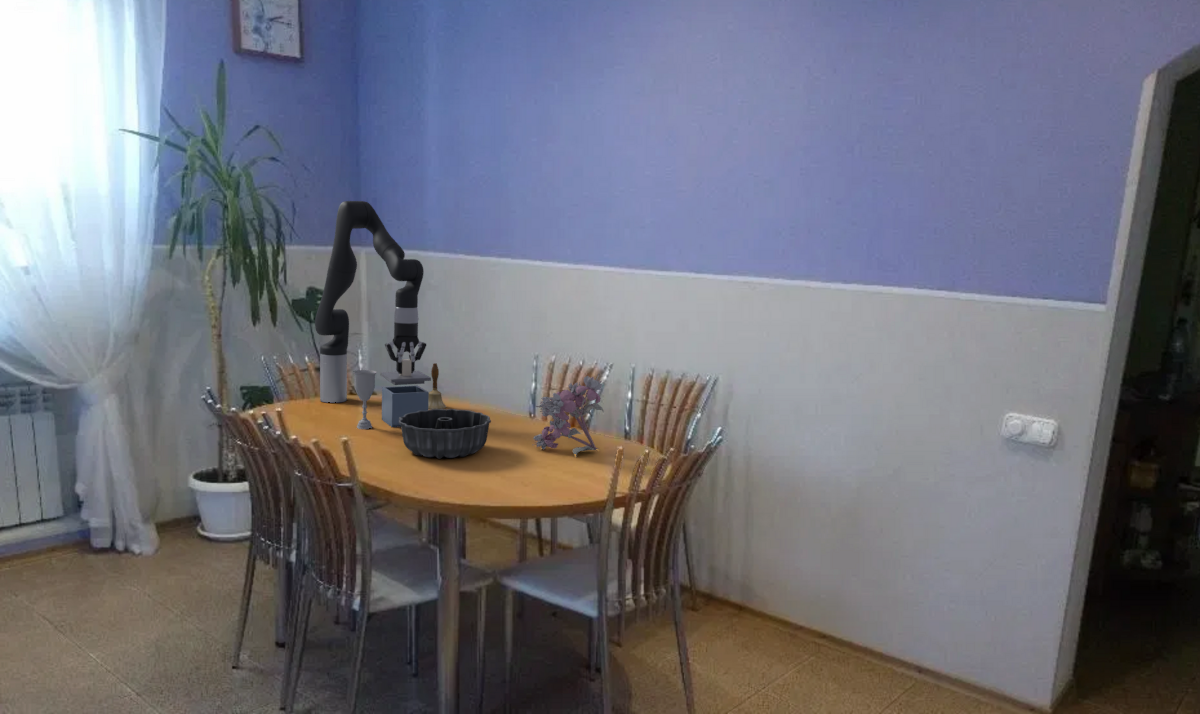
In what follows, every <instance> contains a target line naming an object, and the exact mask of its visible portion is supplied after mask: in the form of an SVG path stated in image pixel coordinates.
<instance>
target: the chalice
mask: <svg viewBox="0 0 1200 714" xmlns="http://www.w3.org/2000/svg"><path fill="white" fill-rule="evenodd" d="M352 372H353V374H354V389H355V392H356V394H357V396H358V397H359V400H360V401H362V406H361V407H362V412H361V413H362V418H361V419H360V420H358V423H357V425H356V427H357V428H358V429H359V430H370V429H369V428H371V429H372V427H373V425H372V423H371V420H369V419H368V418H367V413H368V411H367V408H368V406H367V401H369V400H370V399H371V397H372V395H373V393H374V391H375V387H376V374H377V370H371V369H370V370H369V369H368V370H367V369H361V370H359V369H358V370H353V371H352ZM357 428H356V429H357ZM358 429H357V430H358Z"/></svg>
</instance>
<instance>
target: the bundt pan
mask: <svg viewBox="0 0 1200 714" xmlns="http://www.w3.org/2000/svg"><path fill="white" fill-rule="evenodd" d="M490 417H491V416H489V415H487V414H484V413H483V412H476V411H474V410H469V409H454V408H448V409H446V408H444V409H428V410H427V411H418V412H413V413H408V414H405V415H404V416H403V417H399V424H400V425H401V427H400V428H401V434H402V440H403V444H404V446H405V447H406V448H407V450H409V451H410V452H412V453H413V455H416V456H418V457H422V455H423V457H425V458H434V457H436V458H437V459H438V460H441V459H443V458H444V457H445V458H448V459H453V458H456V457H460V458H465V457H467V456H468V455H474V454H475V453H477V452H478V451H480V450H482V449H483V448H484V447H485V445H486V443H487V439H488V434H489V428H490V424H491V422H492V420H491V418H490Z"/></svg>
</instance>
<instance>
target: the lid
mask: <svg viewBox="0 0 1200 714" xmlns="http://www.w3.org/2000/svg"><path fill="white" fill-rule="evenodd" d="M411 362H412V361H411V360H410V359H409V358H404V359H403V358H402V361H401V363H402V374H399V373H398V372H397V371H383V372H382V371H380V372H379V375H380V377H382V378H383V379H385V380H386V381H388V382H389V383H391V384H393V386H408V385H421V384H425V383H426V382H430V381H432V376H428V375H426V374H425V373H423V372H421V371H420V370H414V372H413V373H411Z"/></svg>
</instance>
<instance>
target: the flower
mask: <svg viewBox="0 0 1200 714" xmlns="http://www.w3.org/2000/svg"><path fill="white" fill-rule="evenodd" d="M599 376H600V373H597V377H596V379H595V377H594V376H591V377H590V376H589V375H587V376H585V377H583V383H584V385H582V384H581V381H578V382H575V383H574V384H572V382H570V383H569V384H568V389H564V390H562V391H557V392H556V393H555V392H553V393H552V397H551V396H550V397H549V396H543V397H541V400H540V403H539V404H540V405H535V407H536V408H540V411H539V413H540V414H541V416H542V417H548V416H551V417H552V421H551V420H550V421H549V426H544V427H543V429H542V430H541V433H539V434H537V435H534V436H533V439H532V440H533V442H534V444H532V445H531V446H535V445H536V448H540V449H541V448H542V449H543V450H545V449H546V448H547V447H548V448H550V449H554V450H555V449H556V448H558V445H559V443H558V442H557V443H556V442H555V441H556V440H557V439H559V438H561V437H565V438H568V439H572V440H574V441H576V442H578V443H581V444H583V445H584V446H581V447H580V446H578V447H574V448H572V453H573V455H574V454H576V455H577V456H578V453H581V452H580V451H582V452H586V451H595V450H596V449H599V448H598V447H596V445H595V443H594V441H593V439H592V436H591V434H590V433H589V430H588V428H587V425H586V422H585V419H584V416H585V415H587V414H589V416H593V415H592V413H591V411H592V410H596V411H602V413H604V412H605V411H604V409H603V407H602V406H601V405H600V404H599V403H601V400H602V399H601V396H600V395H599V393H598V392H597V391H600V390H601V389H602V387H603V383H602V380H600V379H598V378H599ZM584 395H585V397H584ZM586 399H587V400H588V401H590V402H591V401H595V403H589V404H586V403H587V400H586ZM567 413H568V414H569V415H570V416H571V417H574V418H575V419H576V421H577V423H578V424H579V427H580V428H581V430H582V432H583V433H584V435H585V437H586V439H587V440H588V442H587V441H585V440H583V439H582V438H578V437H576V436H575V435H578V434H580V435H582V433H581V432H580V431H579V430H578V429H577V428H576V427H572V428H571V422H569V421H568V420H570V416H568V415H567ZM596 451H597V450H596Z"/></svg>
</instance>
